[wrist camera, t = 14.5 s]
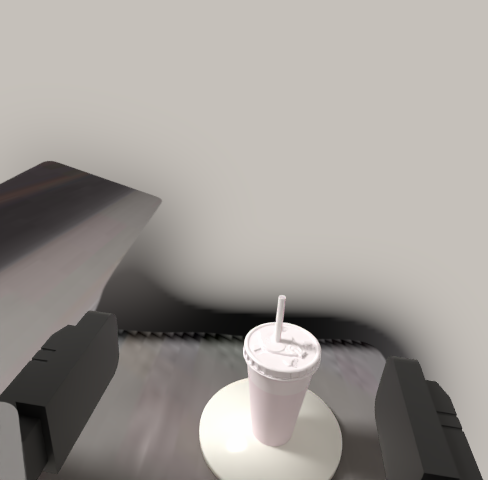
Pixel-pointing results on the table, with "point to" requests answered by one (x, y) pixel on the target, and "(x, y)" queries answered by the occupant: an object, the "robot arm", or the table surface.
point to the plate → (260, 455)
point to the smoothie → (278, 376)
